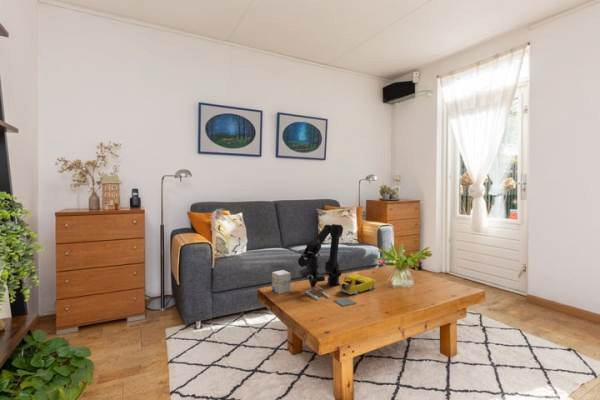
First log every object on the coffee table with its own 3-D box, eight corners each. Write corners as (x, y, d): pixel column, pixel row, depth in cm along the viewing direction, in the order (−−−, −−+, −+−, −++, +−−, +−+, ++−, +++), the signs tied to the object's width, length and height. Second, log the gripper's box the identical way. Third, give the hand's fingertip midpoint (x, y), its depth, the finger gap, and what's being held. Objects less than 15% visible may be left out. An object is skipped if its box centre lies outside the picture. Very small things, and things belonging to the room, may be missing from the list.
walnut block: (317, 293, 193) (317, 285, 193) (322, 296, 188) (322, 288, 188) (311, 294, 191) (311, 286, 191) (316, 297, 186) (316, 289, 185)
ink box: (271, 290, 197) (271, 271, 196) (282, 287, 202) (283, 269, 201) (279, 294, 190) (279, 275, 189) (290, 291, 195) (291, 272, 194)
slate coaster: (346, 298, 184) (346, 297, 184) (356, 303, 176) (356, 302, 176) (333, 300, 180) (333, 299, 180) (343, 306, 172) (343, 305, 172)
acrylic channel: (317, 290, 197) (317, 288, 197) (329, 297, 185) (329, 295, 185) (305, 292, 193) (305, 290, 193) (317, 300, 181) (317, 298, 181)
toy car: (378, 289, 201) (378, 273, 201) (350, 297, 186) (351, 280, 186) (362, 284, 211) (363, 269, 210) (336, 291, 196) (336, 275, 196)
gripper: (294, 261, 197) (293, 286, 198) (308, 269, 181) (308, 296, 182) (309, 259, 203) (309, 283, 203) (325, 266, 186) (325, 293, 187)
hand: (312, 289), depth 194 cm, fingers closed
